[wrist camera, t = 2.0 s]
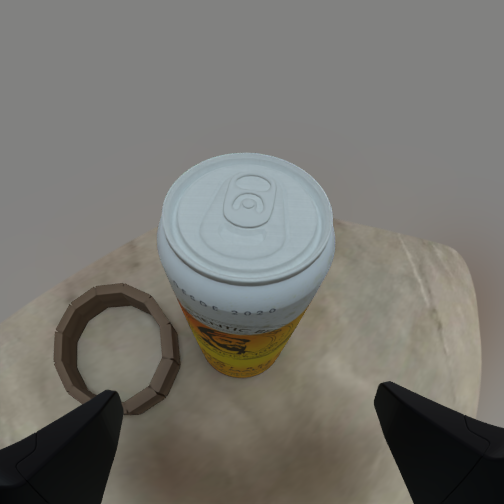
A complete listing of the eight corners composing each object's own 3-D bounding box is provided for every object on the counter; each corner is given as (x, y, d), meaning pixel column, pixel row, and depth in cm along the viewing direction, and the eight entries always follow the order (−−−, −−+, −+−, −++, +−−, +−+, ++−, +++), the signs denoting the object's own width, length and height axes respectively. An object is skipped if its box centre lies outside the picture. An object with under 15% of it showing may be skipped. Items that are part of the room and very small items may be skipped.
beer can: (194, 370, 19) (118, 272, 7) (210, 299, 23) (185, 140, 10) (274, 384, 19) (348, 312, 7) (284, 311, 23) (339, 160, 10)
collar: (149, 437, 16) (138, 438, 14) (53, 374, 18) (37, 367, 16) (199, 325, 22) (195, 313, 19) (102, 281, 23) (91, 267, 21)
